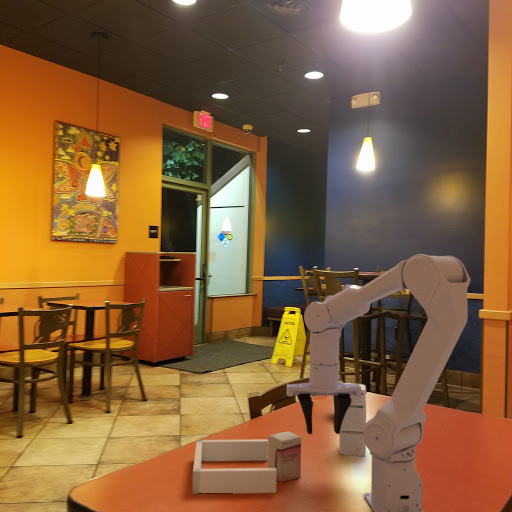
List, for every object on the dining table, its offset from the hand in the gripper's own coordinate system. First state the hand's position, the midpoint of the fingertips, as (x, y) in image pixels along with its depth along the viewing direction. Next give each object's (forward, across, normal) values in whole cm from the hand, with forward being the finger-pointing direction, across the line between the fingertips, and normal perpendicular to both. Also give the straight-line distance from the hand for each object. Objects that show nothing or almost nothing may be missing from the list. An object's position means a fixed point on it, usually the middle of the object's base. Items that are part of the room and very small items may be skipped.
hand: (323, 432), depth 99 cm
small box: (+9, +8, 0) cm, 11 cm away
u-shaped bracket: (+8, +18, -1) cm, 19 cm away
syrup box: (+9, -10, -13) cm, 18 cm away
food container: (+9, -14, -37) cm, 40 cm away
